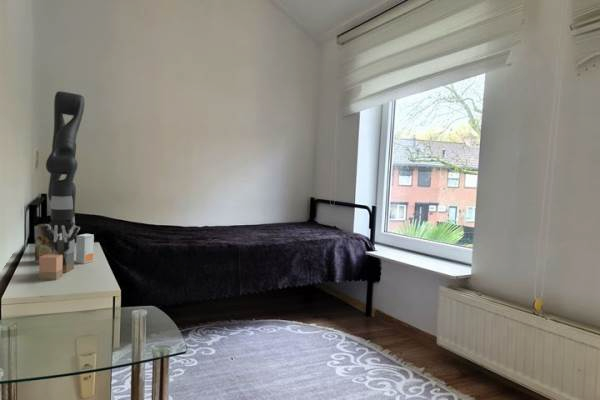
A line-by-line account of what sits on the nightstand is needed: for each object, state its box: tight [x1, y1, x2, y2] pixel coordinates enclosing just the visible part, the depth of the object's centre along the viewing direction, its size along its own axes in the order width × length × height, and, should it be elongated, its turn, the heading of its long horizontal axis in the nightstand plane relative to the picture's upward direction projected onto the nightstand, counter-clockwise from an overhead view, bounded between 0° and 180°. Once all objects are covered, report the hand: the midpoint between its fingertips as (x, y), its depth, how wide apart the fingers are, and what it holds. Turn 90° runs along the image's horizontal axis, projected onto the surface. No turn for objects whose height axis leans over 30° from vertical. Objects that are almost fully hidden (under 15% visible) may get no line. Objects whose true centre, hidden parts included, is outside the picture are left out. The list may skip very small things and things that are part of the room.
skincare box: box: [75, 233, 95, 265], centre depth 188 cm, size 6×4×12 cm
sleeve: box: [62, 253, 75, 274], centre depth 173 cm, size 7×5×7 cm, turn 5°
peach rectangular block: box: [38, 254, 63, 281], centre depth 162 cm, size 5×6×8 cm
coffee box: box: [33, 223, 63, 264], centre depth 185 cm, size 9×6×16 cm
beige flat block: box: [57, 240, 68, 263], centre depth 167 cm, size 12×3×9 cm, turn 5°
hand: (61, 250), depth 171 cm, fingers closed on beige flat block, 2 cm apart
